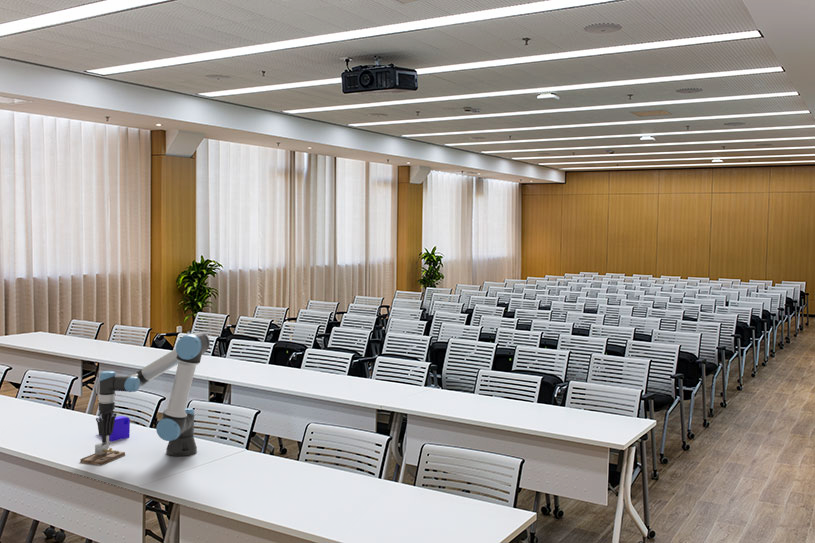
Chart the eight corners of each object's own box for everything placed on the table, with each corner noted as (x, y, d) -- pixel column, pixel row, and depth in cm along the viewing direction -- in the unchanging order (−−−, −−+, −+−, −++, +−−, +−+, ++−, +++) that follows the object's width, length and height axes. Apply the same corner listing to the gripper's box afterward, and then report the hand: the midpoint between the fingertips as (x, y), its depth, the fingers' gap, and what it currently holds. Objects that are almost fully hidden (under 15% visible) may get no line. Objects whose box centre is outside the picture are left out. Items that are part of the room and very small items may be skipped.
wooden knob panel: (125, 455, 365) (125, 450, 365) (101, 465, 348) (101, 459, 348) (104, 452, 368) (104, 447, 368) (80, 462, 351) (80, 457, 351)
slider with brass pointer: (116, 454, 360) (116, 444, 359) (110, 456, 356) (111, 446, 356) (100, 452, 362) (100, 442, 362) (94, 454, 358) (95, 444, 358)
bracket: (129, 437, 399) (129, 416, 398) (111, 441, 389) (112, 420, 389) (109, 432, 408) (110, 411, 408) (92, 435, 399) (92, 414, 399)
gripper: (109, 398, 369) (107, 444, 370) (91, 403, 357) (90, 450, 358) (121, 400, 367) (120, 445, 368) (104, 405, 355) (103, 452, 356)
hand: (105, 448), depth 363 cm, fingers closed
